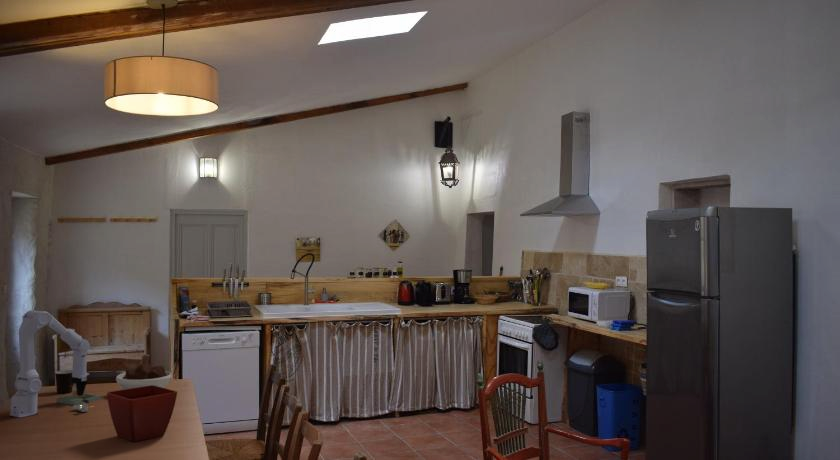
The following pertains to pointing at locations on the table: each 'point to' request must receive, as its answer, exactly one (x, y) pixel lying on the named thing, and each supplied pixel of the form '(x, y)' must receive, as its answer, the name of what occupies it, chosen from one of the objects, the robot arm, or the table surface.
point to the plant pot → (141, 411)
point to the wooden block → (76, 392)
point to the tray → (71, 399)
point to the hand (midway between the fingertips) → (79, 394)
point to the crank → (82, 406)
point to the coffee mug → (64, 381)
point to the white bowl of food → (144, 377)
